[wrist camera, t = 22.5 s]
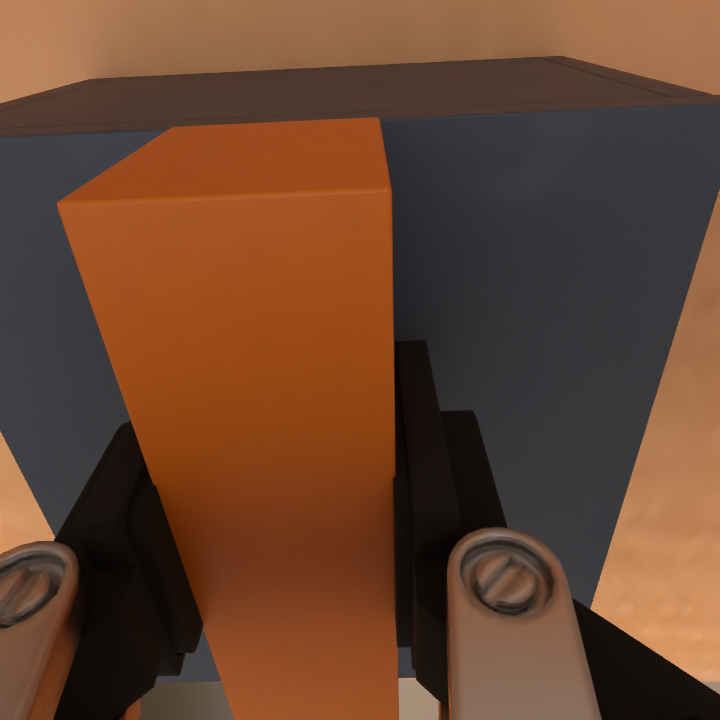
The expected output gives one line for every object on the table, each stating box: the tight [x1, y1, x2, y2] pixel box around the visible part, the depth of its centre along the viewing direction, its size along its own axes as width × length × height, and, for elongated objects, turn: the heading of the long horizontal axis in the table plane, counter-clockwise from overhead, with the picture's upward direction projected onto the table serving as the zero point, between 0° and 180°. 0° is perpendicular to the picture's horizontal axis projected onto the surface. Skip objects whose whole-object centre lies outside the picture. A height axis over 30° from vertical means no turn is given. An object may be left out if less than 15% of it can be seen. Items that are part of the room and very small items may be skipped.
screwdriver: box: [57, 117, 399, 720], centre depth 11 cm, size 18×3×4 cm, turn 3°
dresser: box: [0, 56, 720, 683], centre depth 17 cm, size 17×14×9 cm
